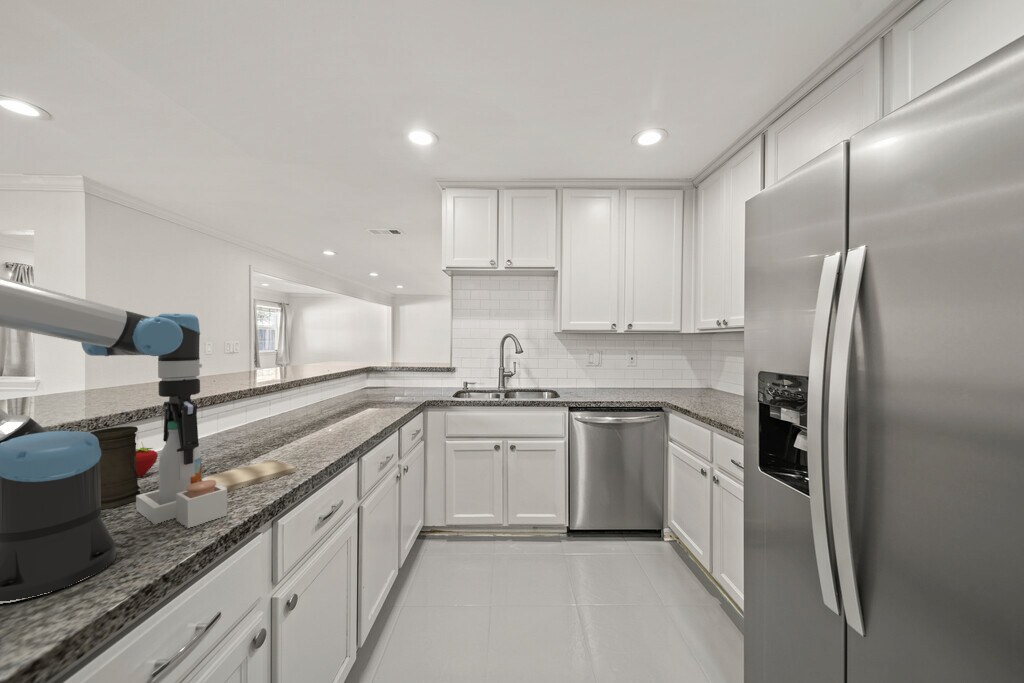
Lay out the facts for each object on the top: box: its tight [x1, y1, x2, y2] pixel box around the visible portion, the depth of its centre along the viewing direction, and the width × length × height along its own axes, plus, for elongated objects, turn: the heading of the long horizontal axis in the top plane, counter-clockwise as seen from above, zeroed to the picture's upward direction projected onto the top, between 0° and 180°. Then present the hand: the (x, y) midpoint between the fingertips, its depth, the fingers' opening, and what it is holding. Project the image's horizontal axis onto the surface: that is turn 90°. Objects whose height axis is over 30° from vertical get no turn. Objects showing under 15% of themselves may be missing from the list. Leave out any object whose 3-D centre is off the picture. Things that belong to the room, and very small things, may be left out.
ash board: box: [203, 459, 297, 493], centre depth 112 cm, size 18×14×2 cm
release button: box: [186, 480, 216, 498], centre depth 86 cm, size 5×5×6 cm
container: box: [90, 425, 142, 510], centre depth 95 cm, size 9×9×18 cm
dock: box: [135, 477, 228, 529], centre depth 90 cm, size 13×22×6 cm, turn 56°
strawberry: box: [136, 441, 159, 478], centre depth 114 cm, size 6×8×10 cm
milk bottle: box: [158, 421, 203, 505], centre depth 92 cm, size 8×8×20 cm
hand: (180, 474), depth 92 cm, fingers closed on milk bottle, 7 cm apart
